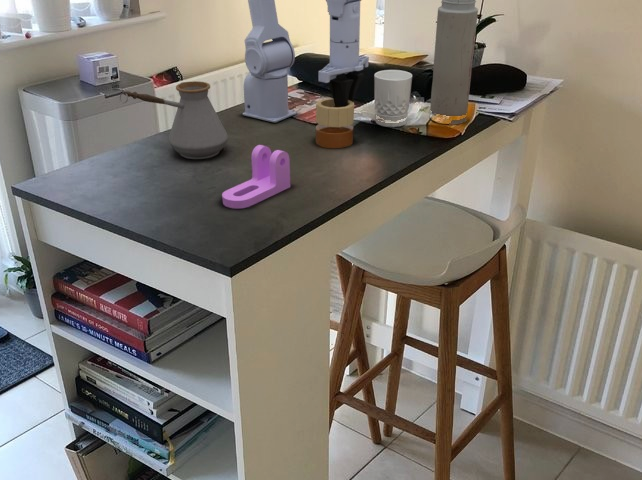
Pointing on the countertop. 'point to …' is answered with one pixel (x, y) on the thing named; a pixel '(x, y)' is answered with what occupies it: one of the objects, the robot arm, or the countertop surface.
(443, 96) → the thermos bottle
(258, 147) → the bracket
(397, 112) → the white cup
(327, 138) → the wooden peg base
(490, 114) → the countertop surface
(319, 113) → the ring
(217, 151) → the coffee pot
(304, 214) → the countertop surface
